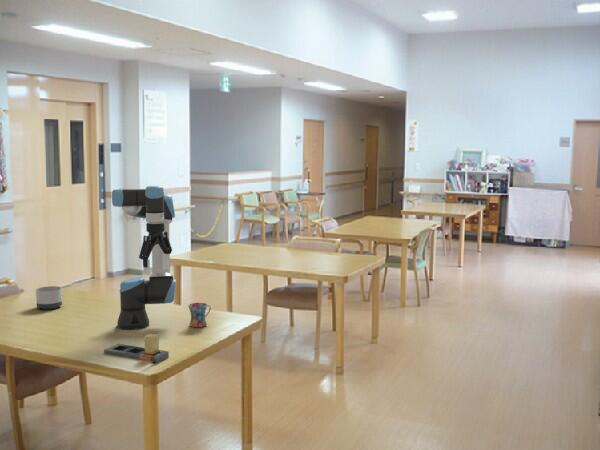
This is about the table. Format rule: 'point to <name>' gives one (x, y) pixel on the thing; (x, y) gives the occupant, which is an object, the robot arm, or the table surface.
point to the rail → (136, 353)
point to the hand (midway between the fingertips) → (156, 271)
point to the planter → (48, 297)
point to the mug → (198, 314)
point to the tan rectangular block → (152, 344)
